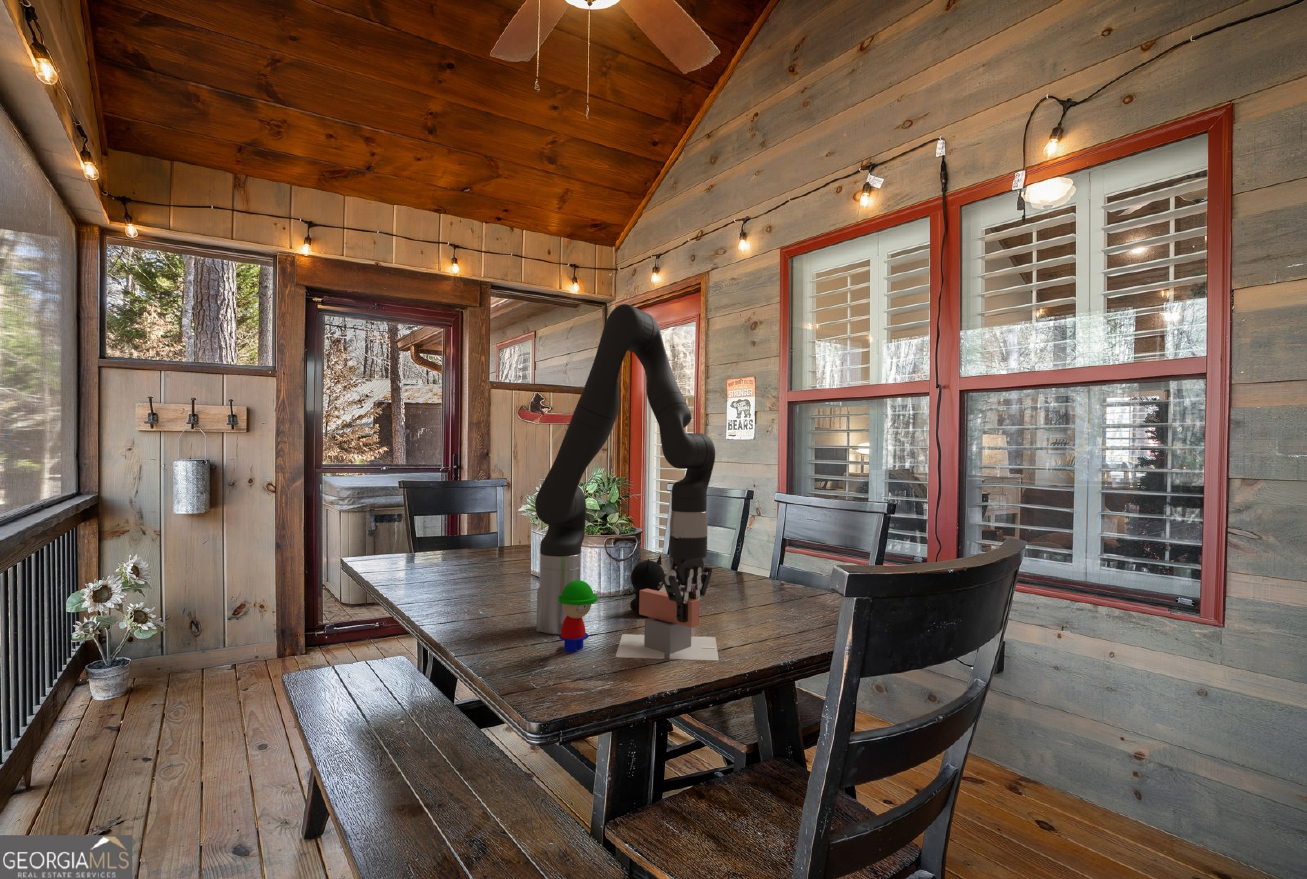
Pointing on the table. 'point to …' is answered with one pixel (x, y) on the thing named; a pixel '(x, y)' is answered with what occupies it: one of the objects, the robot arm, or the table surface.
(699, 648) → the lock board
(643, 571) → the figurine
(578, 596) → the toy
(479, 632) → the table surface
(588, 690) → the table surface
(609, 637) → the table surface
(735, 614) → the table surface
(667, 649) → the red bar with frame
